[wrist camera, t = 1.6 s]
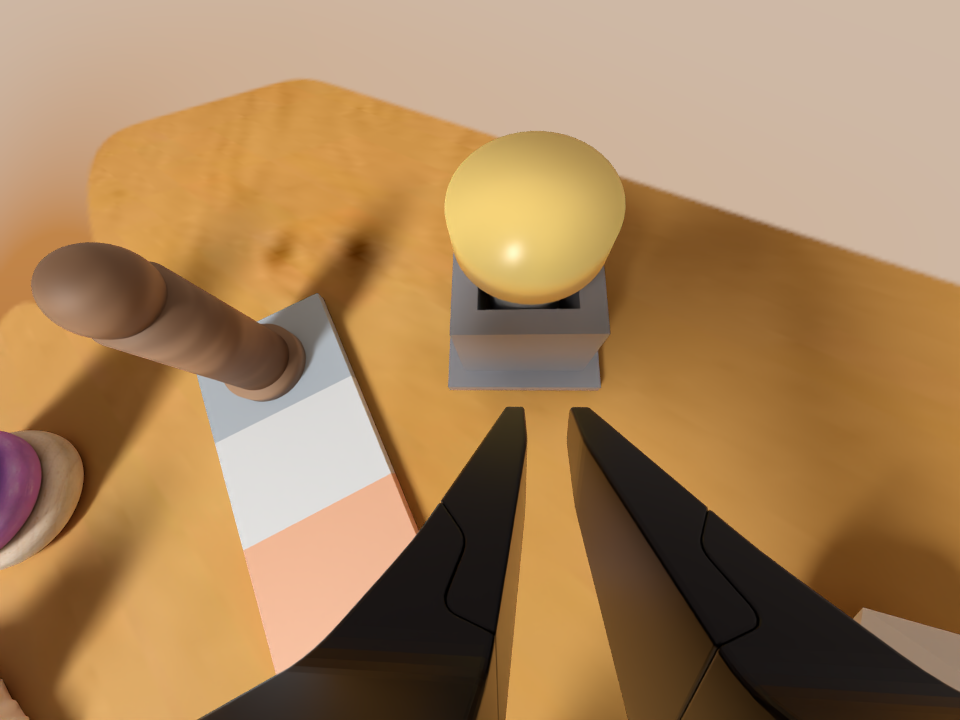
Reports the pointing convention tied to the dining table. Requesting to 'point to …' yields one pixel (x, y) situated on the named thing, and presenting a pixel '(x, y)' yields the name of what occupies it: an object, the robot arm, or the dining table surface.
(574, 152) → the dome button
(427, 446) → the dining table surface
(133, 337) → the brown round-topped post
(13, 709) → the seated beast figurine
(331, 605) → the game board
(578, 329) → the box
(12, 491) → the stacking toy
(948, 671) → the die
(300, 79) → the dining table surface
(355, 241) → the dining table surface
